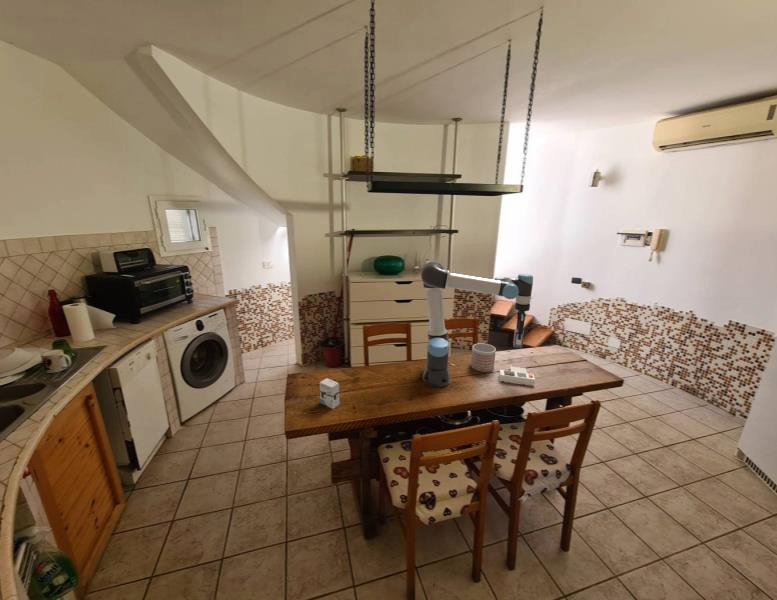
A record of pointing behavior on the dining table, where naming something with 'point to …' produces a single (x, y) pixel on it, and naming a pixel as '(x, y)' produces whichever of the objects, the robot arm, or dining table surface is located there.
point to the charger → (515, 340)
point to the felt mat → (518, 369)
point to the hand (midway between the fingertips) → (518, 342)
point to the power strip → (517, 377)
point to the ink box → (329, 393)
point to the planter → (483, 357)
